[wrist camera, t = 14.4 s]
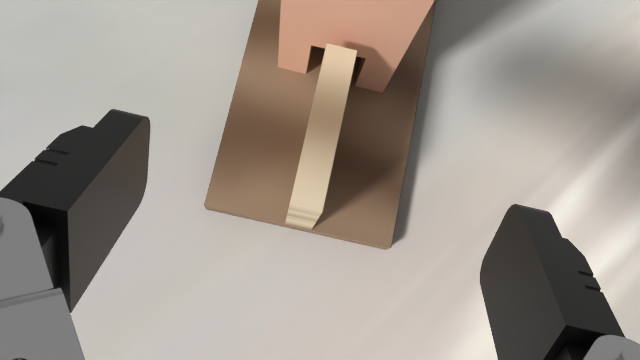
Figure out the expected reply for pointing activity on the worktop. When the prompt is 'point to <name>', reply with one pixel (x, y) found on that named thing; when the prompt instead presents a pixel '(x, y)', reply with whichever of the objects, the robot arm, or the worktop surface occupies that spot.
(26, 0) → the worktop surface
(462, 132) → the worktop surface
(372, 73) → the slotted upright
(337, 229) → the ridged rail
